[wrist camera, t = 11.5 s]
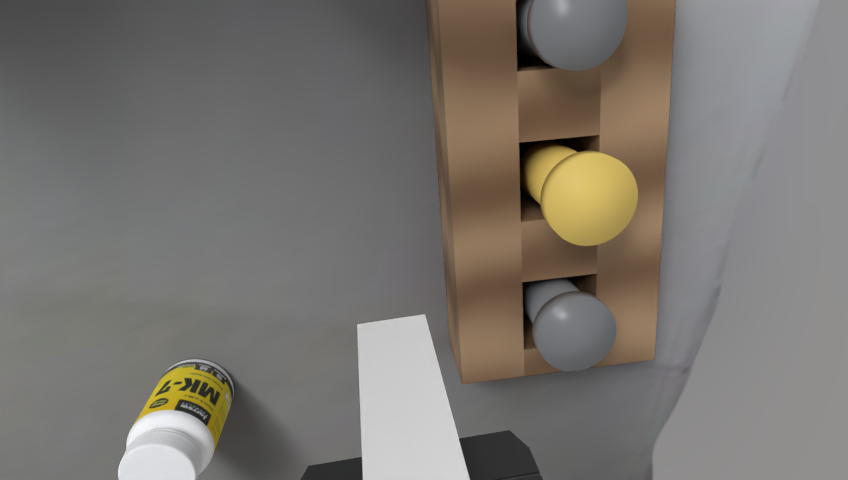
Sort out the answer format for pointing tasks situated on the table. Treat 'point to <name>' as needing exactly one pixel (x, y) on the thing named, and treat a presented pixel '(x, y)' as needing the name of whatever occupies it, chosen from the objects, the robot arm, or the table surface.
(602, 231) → the ochre plug
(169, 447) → the supplement bottle
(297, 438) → the table surface
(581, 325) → the graphite plug
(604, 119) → the walnut plug block
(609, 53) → the graphite plug
